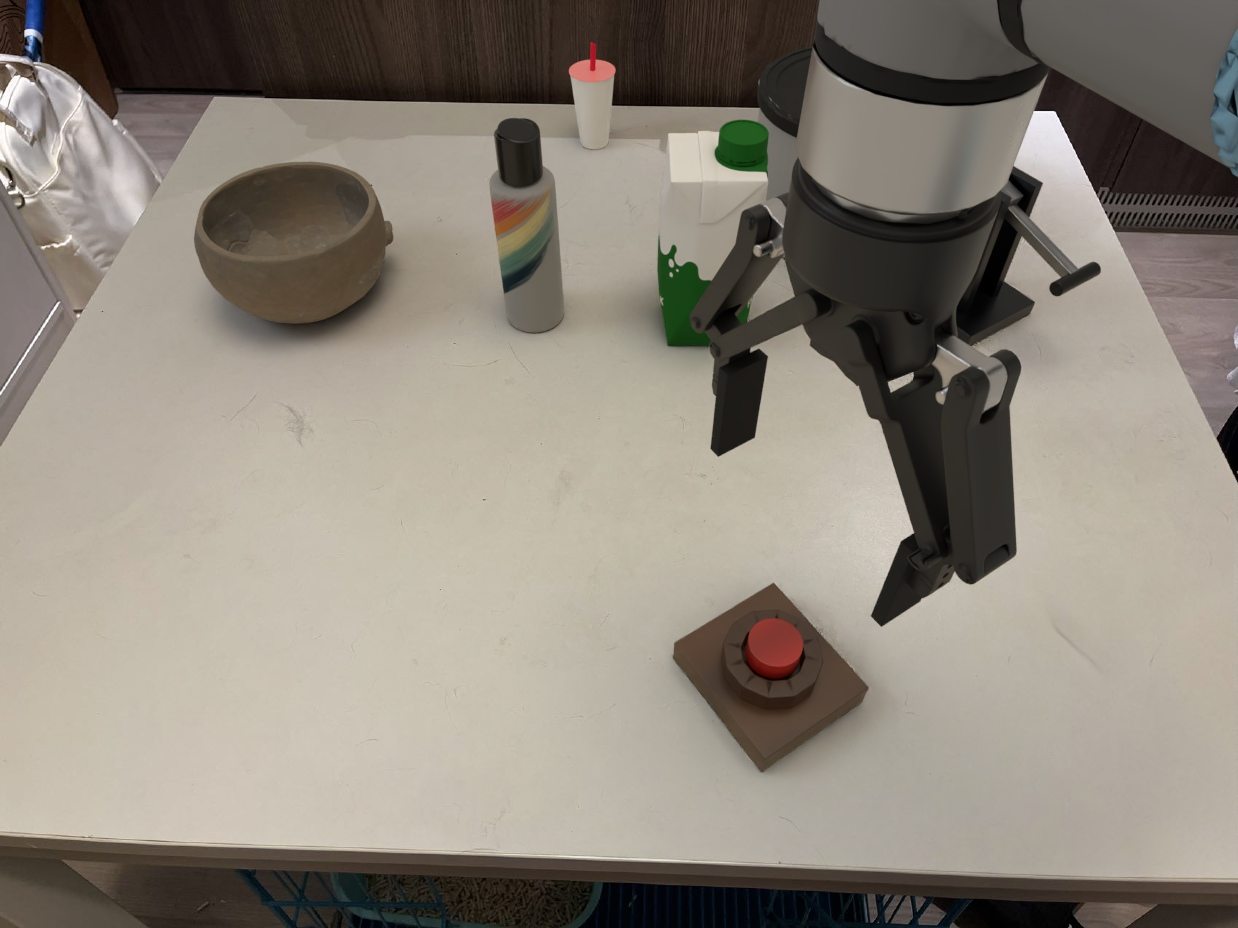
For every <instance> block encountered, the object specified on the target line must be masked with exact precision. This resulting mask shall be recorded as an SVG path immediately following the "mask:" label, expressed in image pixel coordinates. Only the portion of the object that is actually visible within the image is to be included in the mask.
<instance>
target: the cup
mask: <svg viewBox="0 0 1238 928" xmlns="http://www.w3.org/2000/svg"><path fill="white" fill-rule="evenodd" d="M589 52H590V57H589V59H584V60H580V61H577V62H575V63H573V64H572V65H571V66H570V67H569V69H568V74H569V75H570V82H571V87H572V88H571V89H572V97H573V103H574V109H575V116H576V117H575V118H576V122H577V130H578V134H579V142H580V145H581V146H582V147H584V148H585V149H589V150H599V149H604V148H606V146H608V144H609V138H610V130H611V120H612V119H611V118H612V106H613V94H614V82H615V74H616V71H617V70H616V67H615V65H614V64H612V63H610V62H609V61H606V60H602V59H597V44H596V43H594V42H592V41H591V42H590V51H589Z"/></svg>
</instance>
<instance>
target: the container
mask: <svg viewBox="0 0 1238 928" xmlns="http://www.w3.org/2000/svg"><path fill="white" fill-rule="evenodd" d="M812 48H813V46H807V47H803V48H799V49H795V50H793V51H789V52H787V53H785V54H783V55H780V56H779V57H776V58H775V59H774V60H773V61H771V62H770V63H769V64H767V66H765V68H764V69H763V70H762V71H761V74H760V76H759V80H758V86H757V96H756V98H757V105H758V107H759V108H758V109H759V110H758V117H757V122H758V123H760V124H762V125H764V126H765V127H766V128H767V130H768V132H769V138H768V146H767V154H768V166H767V170H768V188H767V195H766V201H767V200H770V199H772V198H775V197H777V196H779V195H782V194H784V193H787V192H789V189H790V183H791V176H792V170H793V166H794V163H795V161H796V160H797V158H798V155H797V152H796V150H795V146H796V140H797V134H798V129H799V123H800V117H801V111H802V106H803V100H804V94H805V88H806V83H807V77H808V71H809V65H810V60H811V54H812ZM782 258H783V259H785V254H784V256H783V257H782Z"/></svg>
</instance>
